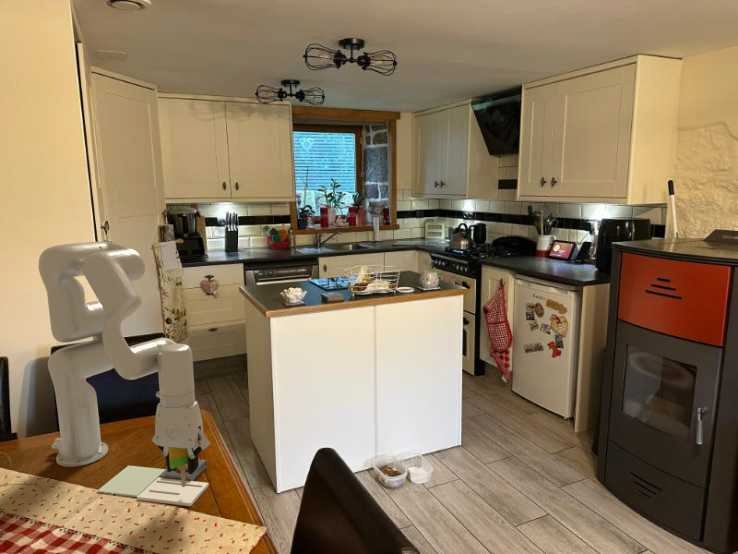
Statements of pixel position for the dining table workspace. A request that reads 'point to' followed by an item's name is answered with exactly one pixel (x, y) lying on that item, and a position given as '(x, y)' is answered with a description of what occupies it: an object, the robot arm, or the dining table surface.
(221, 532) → the dining table surface
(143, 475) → the mat
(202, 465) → the button housing
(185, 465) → the button
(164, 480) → the paper board
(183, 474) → the popsicle
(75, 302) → the robot arm
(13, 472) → the dining table surface
